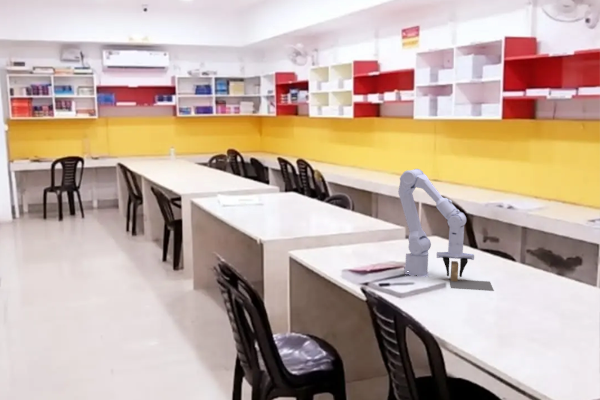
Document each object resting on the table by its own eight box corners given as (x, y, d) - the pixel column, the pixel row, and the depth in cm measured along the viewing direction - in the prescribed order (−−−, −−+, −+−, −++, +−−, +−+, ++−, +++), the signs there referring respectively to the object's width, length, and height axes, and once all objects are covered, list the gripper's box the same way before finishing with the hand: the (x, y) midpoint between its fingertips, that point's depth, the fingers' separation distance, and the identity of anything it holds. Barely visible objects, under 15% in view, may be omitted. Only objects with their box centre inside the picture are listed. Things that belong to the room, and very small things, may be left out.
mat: (450, 289, 233) (450, 288, 233) (448, 279, 246) (448, 278, 246) (494, 291, 231) (494, 290, 231) (489, 282, 243) (489, 281, 243)
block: (451, 281, 243) (452, 264, 242) (450, 277, 248) (451, 261, 247) (457, 281, 243) (458, 264, 242) (456, 278, 247) (457, 261, 246)
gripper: (437, 244, 240) (436, 277, 242) (475, 246, 238) (473, 279, 240) (437, 240, 247) (435, 272, 249) (473, 242, 245) (472, 275, 247)
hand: (454, 276), depth 245 cm, fingers open, 4 cm apart
